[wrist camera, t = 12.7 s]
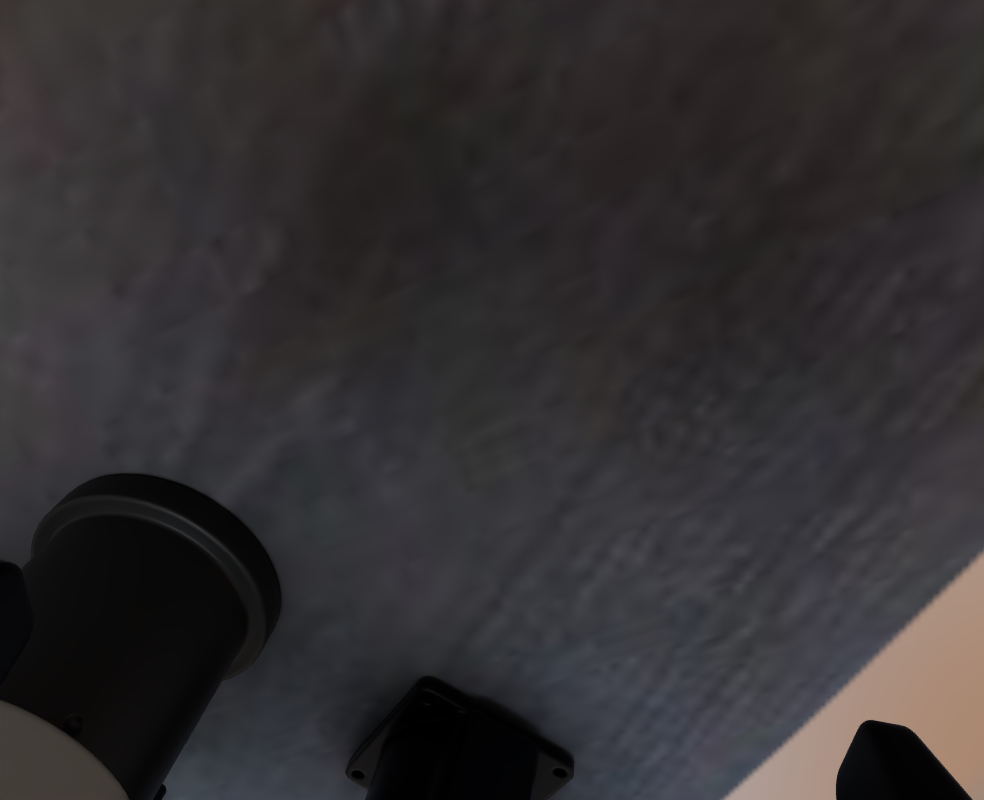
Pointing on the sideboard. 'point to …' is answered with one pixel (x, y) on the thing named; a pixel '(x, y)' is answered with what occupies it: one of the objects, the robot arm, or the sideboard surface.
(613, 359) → the sideboard surface
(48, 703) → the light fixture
